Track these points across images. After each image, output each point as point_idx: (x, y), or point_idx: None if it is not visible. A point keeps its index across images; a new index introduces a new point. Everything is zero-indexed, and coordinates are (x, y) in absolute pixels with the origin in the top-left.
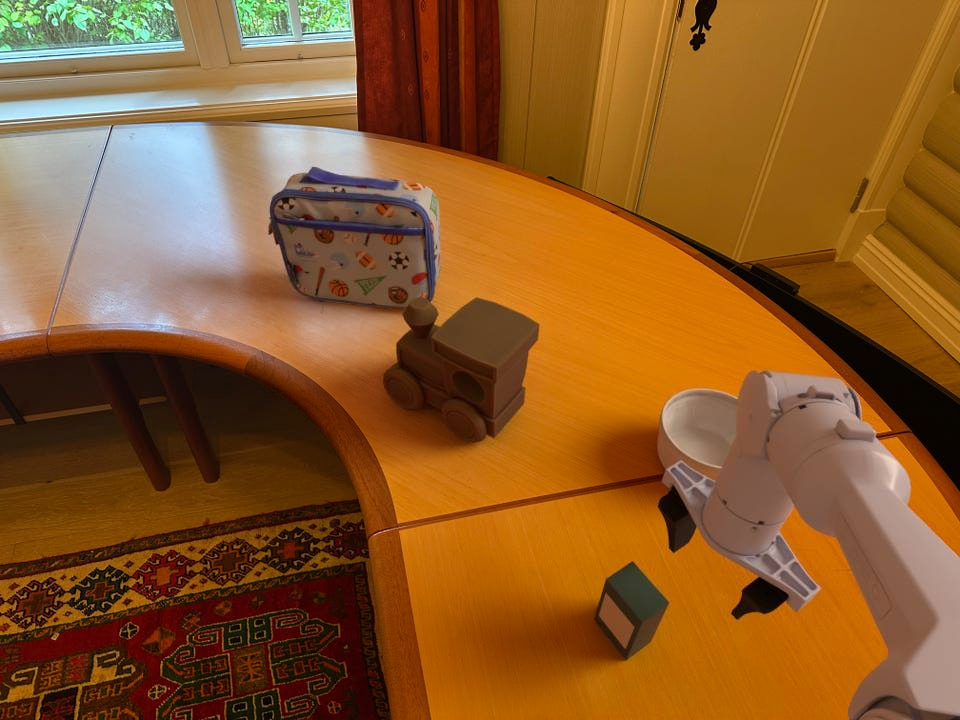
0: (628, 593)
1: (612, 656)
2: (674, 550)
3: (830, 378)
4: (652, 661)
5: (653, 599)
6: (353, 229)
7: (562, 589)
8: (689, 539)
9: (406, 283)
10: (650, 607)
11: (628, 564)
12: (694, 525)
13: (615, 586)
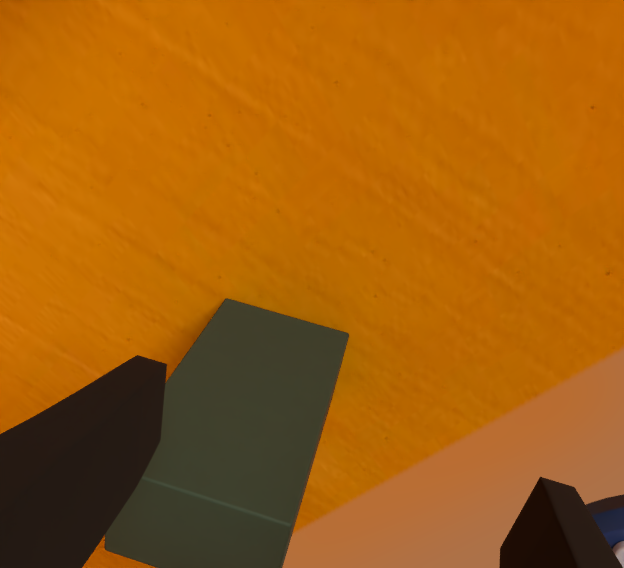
0: (180, 558)
1: None
2: (146, 465)
3: None
4: (379, 368)
5: (246, 540)
6: None
7: (118, 350)
8: (147, 392)
9: None
10: (257, 565)
11: None
12: (67, 473)
13: (139, 557)
